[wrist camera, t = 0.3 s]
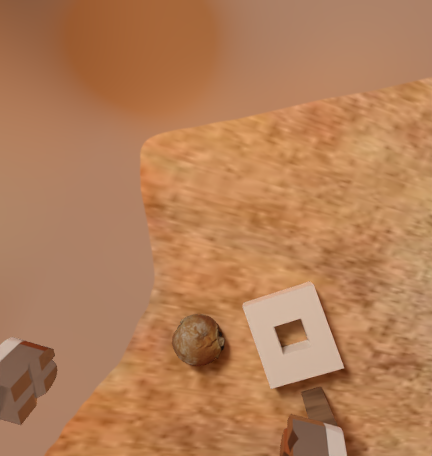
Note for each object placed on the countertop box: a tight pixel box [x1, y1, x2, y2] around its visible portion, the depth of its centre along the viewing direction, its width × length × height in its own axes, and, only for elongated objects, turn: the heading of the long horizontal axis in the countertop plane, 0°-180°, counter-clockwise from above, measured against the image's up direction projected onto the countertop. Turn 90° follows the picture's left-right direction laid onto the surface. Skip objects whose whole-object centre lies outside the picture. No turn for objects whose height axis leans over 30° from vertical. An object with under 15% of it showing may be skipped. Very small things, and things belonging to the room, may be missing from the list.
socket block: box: [243, 281, 344, 389], centre depth 59 cm, size 16×14×4 cm
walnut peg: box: [301, 387, 337, 426], centre depth 53 cm, size 4×4×12 cm
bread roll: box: [172, 314, 224, 366], centre depth 61 cm, size 10×10×8 cm
